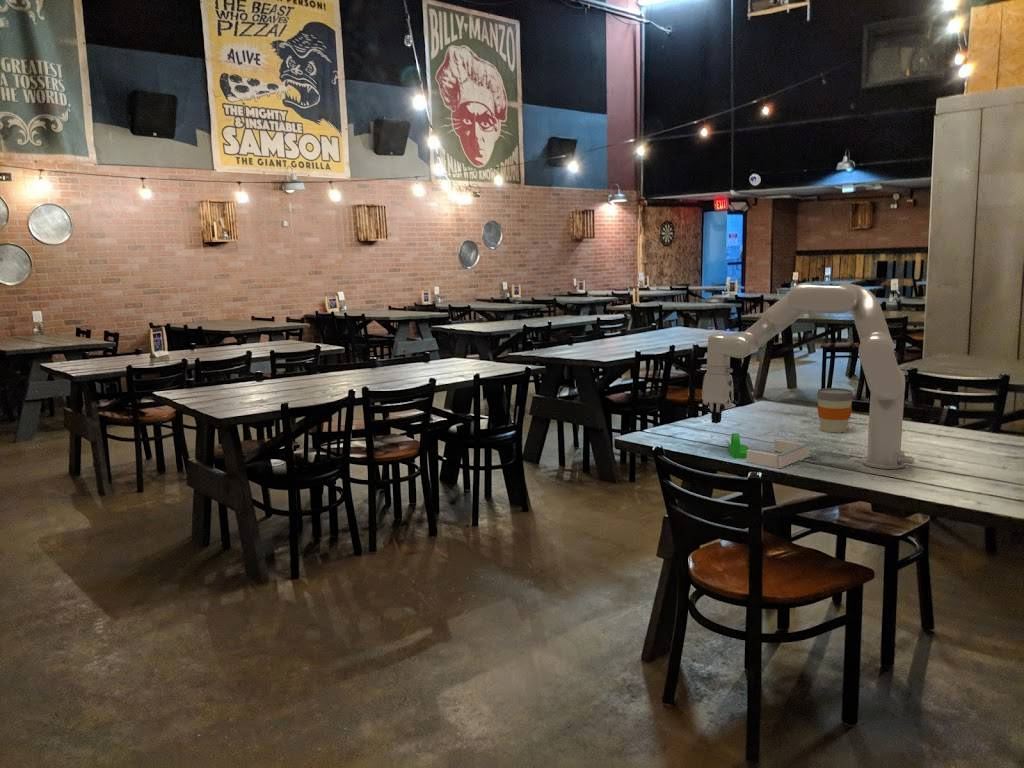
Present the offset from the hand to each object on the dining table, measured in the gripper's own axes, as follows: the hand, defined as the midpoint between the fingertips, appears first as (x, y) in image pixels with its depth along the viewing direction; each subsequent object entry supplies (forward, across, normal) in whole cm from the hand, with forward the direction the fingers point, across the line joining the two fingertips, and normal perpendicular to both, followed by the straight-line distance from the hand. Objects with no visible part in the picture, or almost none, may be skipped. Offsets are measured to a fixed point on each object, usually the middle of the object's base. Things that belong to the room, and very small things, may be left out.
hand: (716, 422), depth 273 cm
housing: (+9, -23, 0) cm, 25 cm away
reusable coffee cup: (+9, -19, -51) cm, 55 cm away
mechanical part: (+9, -10, +1) cm, 14 cm away
